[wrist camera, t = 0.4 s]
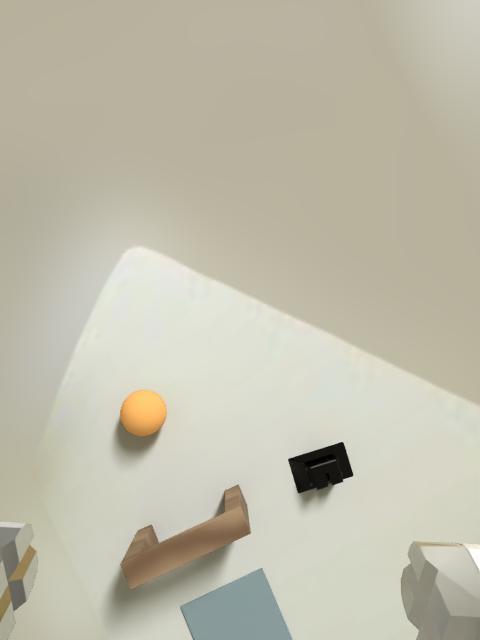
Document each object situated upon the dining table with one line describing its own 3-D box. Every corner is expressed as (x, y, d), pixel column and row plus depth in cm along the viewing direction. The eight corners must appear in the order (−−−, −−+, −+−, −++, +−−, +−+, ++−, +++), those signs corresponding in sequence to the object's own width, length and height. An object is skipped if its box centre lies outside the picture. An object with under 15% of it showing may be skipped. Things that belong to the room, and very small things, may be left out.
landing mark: (297, 652, 59) (298, 653, 59) (216, 692, 58) (216, 693, 58) (261, 568, 60) (262, 568, 60) (180, 606, 59) (180, 607, 59)
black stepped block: (285, 504, 61) (289, 515, 57) (270, 453, 62) (273, 460, 57) (368, 477, 62) (379, 487, 57) (353, 427, 62) (363, 433, 58)
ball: (175, 421, 61) (170, 428, 55) (136, 438, 61) (126, 447, 55) (159, 381, 61) (151, 384, 55) (119, 398, 61) (107, 403, 55)
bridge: (247, 505, 60) (250, 533, 51) (146, 551, 59) (130, 589, 50) (238, 484, 61) (240, 509, 51) (137, 530, 60) (120, 564, 50)
